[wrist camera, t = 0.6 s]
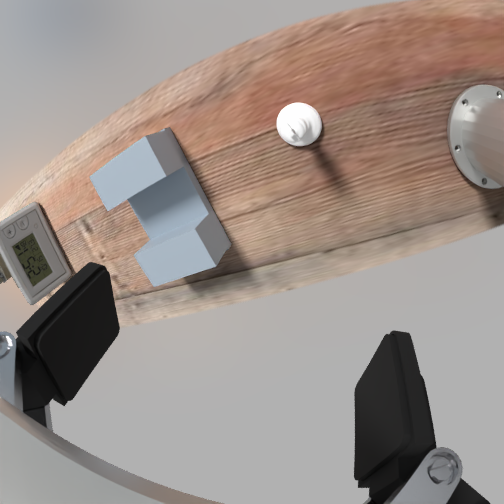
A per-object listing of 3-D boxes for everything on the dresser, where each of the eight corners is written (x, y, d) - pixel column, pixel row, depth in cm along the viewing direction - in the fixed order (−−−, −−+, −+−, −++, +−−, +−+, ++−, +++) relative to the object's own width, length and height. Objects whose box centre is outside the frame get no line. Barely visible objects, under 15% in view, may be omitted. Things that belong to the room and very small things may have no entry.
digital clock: (76, 277, 51) (42, 309, 42) (50, 275, 53) (18, 304, 44) (48, 197, 43) (5, 222, 34) (24, 203, 46) (-16, 226, 36)
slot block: (169, 127, 34) (144, 134, 29) (231, 244, 40) (217, 268, 35) (115, 163, 38) (88, 175, 32) (173, 265, 44) (154, 288, 38)
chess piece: (295, 154, 32) (285, 175, 24) (267, 120, 31) (246, 128, 23) (330, 129, 30) (335, 141, 22) (302, 94, 29) (295, 90, 20)
